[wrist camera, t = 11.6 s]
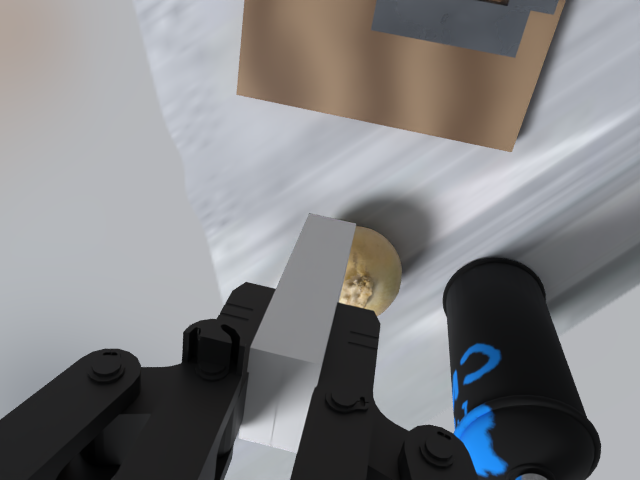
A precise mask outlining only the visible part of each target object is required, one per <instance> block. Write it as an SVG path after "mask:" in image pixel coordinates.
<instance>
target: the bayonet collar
mask: <svg viewBox="0 0 640 480" xmlns="http://www.w3.org/2000/svg"><path fill="white" fill-rule="evenodd" d="M558 1H559V0H501V2H497V1H491V0H377V1H376V6H375V11H374V16H373V21H372V27H371V30H373V31H378V32H383V33H388V34H394V35H399V36H404V37H409V38H414V39H420V40H425V41H430V42H435V43H440V44H446V45H451V46H456V47H461V48H467V49H472V50H477V51H482V52H487V53H493V54H498V55H503V56H508V57H513V58H515V57H516V54H517V51H518V48H519V45H520V42H521V39H522V36H523V33H524V30H525V27H526V23H527V20H528V17H529V14H530V11H536V12H541V13H546V14H552V15H554V13H555V10H556V7H557V4H558Z"/></svg>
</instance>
